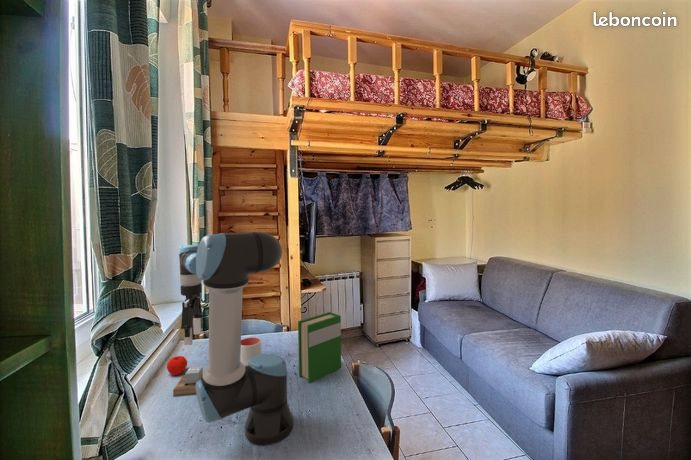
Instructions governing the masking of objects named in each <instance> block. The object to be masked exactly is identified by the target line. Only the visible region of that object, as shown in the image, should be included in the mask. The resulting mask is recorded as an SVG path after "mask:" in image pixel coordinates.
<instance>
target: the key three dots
mask: <svg viewBox="0 0 691 460" xmlns="http://www.w3.org/2000/svg"><path fill="white" fill-rule="evenodd" d="M203 372H204V370H203V365H202V366H194V367H193V366H192V367H189V368H188V369H187V371H185V381H186V384H187V383H196V382H197V381H199V380H201V378H202V377H203Z"/></svg>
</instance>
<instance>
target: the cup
mask: <svg viewBox="0 0 691 460" xmlns="http://www.w3.org/2000/svg"><path fill="white" fill-rule="evenodd" d="M261 344H262V341H261V338H259V337H246V338H243V339H242V338H241V358H240V362H242V363H243V364H244V366H248V362H249V360H250V358H252V357H253V356H256V355H260V354H262V345H261Z"/></svg>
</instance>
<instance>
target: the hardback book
mask: <svg viewBox="0 0 691 460" xmlns="http://www.w3.org/2000/svg"><path fill="white" fill-rule="evenodd" d="M341 318H342V317H341V315H340V314H337V313H333V312H331V311H329V312H325V313H322V314H318V315H315V316H311V317H308V318H305V319H301V320H298V321H297V332H298V333H297V335H298V336H297V337H298V340H297V341H298V376H299V378H302V377H303V378H305V379H307V382H308V384H312V383H313V382H315V381H317V380H319V379H322V378H324V377H326V376H328V375H330V374H333V373H334V371H335V372H336V370H337V371H338V369H339V370H340V368H341V369H342V328H341V327H342V323H341V322H342V319H341Z"/></svg>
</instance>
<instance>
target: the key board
mask: <svg viewBox="0 0 691 460" xmlns="http://www.w3.org/2000/svg"><path fill="white" fill-rule="evenodd" d="M201 380H203V377H202V378H201ZM195 385H196V383H187V384H186V381H185V375H182V377H181V378H180V380H179V381H178V382H177V385H175V387H174V388H173V390H172V394H173V397H181V396H182V397H183V396H193V395H197V394H196V387H195Z"/></svg>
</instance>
